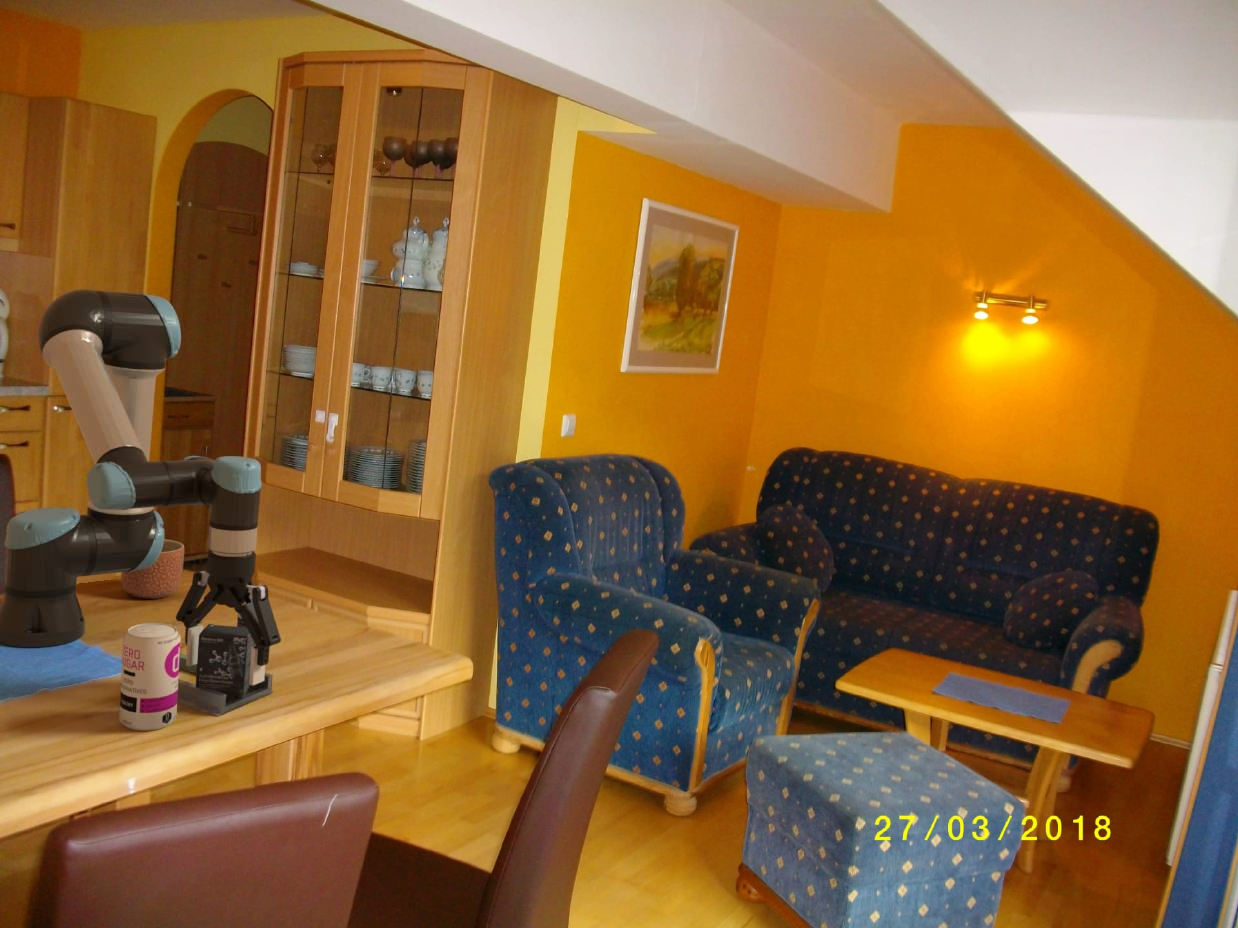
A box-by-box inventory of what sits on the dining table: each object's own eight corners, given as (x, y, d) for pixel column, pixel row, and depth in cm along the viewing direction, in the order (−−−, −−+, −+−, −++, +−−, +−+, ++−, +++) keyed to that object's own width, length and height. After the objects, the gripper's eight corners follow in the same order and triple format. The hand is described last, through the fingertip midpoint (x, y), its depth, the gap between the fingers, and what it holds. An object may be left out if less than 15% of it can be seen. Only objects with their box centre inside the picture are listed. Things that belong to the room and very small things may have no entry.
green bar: (154, 660, 189) (154, 649, 188) (160, 658, 190) (161, 647, 190) (214, 678, 184) (214, 667, 183) (220, 676, 185) (221, 665, 185)
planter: (186, 601, 223) (189, 551, 222) (122, 604, 217) (125, 553, 215) (176, 585, 234) (179, 537, 232) (115, 587, 227) (118, 538, 225)
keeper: (171, 701, 172) (172, 681, 171) (228, 679, 184) (229, 660, 183) (218, 716, 168) (219, 696, 168) (273, 692, 180) (274, 673, 180)
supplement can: (184, 713, 168) (189, 624, 166) (163, 734, 160) (168, 641, 158) (133, 708, 168) (137, 619, 165) (109, 729, 159) (114, 635, 157)
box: (194, 694, 173) (198, 633, 171) (204, 682, 178) (208, 622, 177) (243, 698, 174) (247, 637, 172) (252, 685, 179) (255, 626, 178)
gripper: (308, 561, 171) (299, 684, 174) (191, 533, 180) (185, 650, 184) (277, 569, 164) (268, 697, 168) (157, 540, 173) (151, 661, 177)
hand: (224, 673), depth 176 cm, fingers open, 13 cm apart
